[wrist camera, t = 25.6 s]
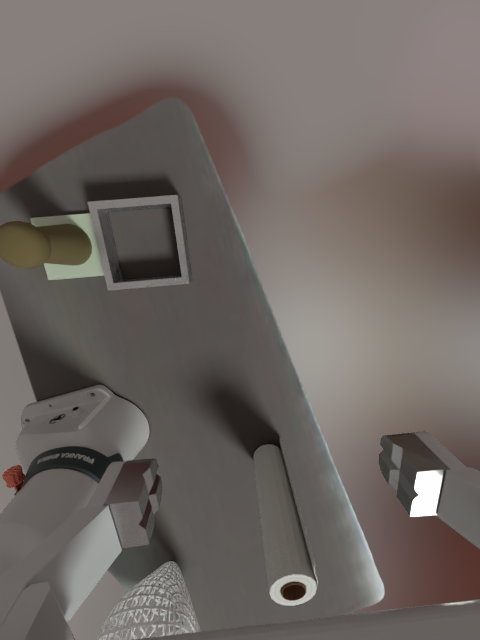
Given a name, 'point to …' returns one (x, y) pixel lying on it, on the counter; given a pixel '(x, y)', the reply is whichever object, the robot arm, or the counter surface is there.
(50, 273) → the green pad
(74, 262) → the olive green rounded piece
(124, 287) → the frame
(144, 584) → the heart
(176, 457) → the counter surface
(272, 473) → the paper towel roll
